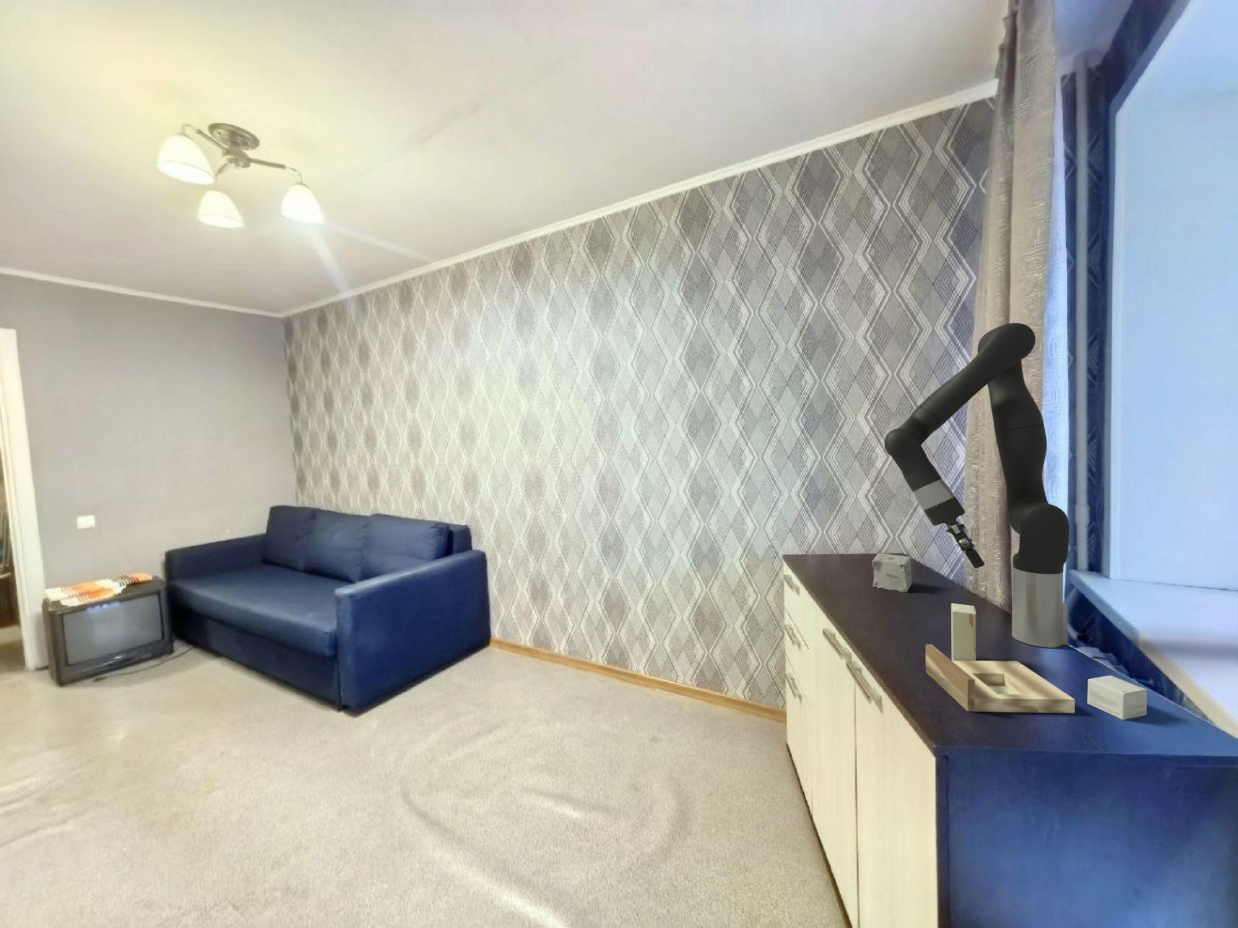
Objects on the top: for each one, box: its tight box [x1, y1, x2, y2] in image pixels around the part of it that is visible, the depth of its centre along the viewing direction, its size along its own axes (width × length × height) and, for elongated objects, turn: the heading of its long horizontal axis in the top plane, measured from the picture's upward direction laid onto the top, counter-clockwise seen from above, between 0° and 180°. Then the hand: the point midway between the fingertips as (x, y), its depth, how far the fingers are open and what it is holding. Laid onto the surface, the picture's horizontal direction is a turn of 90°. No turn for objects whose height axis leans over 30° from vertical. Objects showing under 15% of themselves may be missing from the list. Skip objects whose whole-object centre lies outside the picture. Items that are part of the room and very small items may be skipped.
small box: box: [1086, 675, 1148, 721], centre depth 90 cm, size 6×6×5 cm
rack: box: [925, 644, 1076, 714], centre depth 97 cm, size 18×15×6 cm
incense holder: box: [871, 552, 913, 593], centre depth 160 cm, size 10×8×10 cm
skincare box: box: [950, 603, 977, 661], centre depth 109 cm, size 6×4×12 cm
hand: (978, 564), depth 115 cm, fingers open, 8 cm apart
